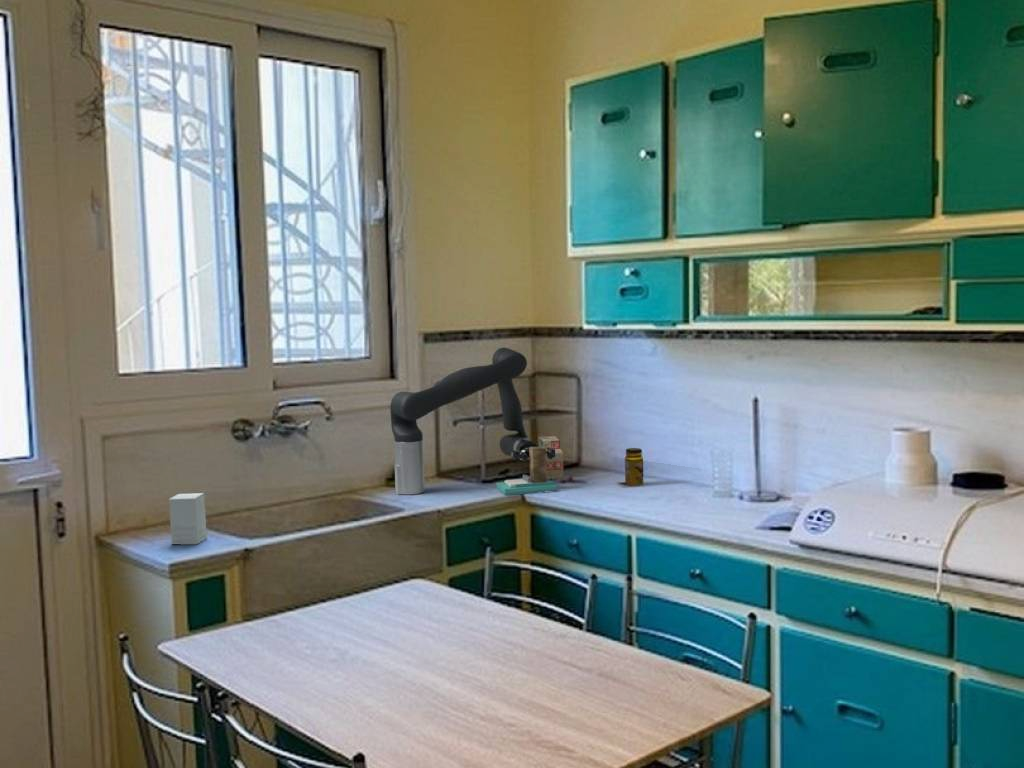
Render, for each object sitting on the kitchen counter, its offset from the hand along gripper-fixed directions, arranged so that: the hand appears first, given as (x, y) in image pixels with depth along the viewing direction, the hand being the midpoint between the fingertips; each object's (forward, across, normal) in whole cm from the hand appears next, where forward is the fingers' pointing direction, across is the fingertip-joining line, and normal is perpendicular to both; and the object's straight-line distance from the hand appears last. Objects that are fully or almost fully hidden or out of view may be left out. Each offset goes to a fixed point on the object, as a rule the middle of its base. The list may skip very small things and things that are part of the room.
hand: (538, 456), depth 333 cm
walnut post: (+1, +1, -10) cm, 10 cm away
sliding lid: (+1, +7, -8) cm, 11 cm away
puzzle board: (+1, +5, -11) cm, 12 cm away
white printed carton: (-26, -12, -11) cm, 30 cm away
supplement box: (+36, +108, -10) cm, 115 cm away
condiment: (+5, -30, -11) cm, 33 cm away
